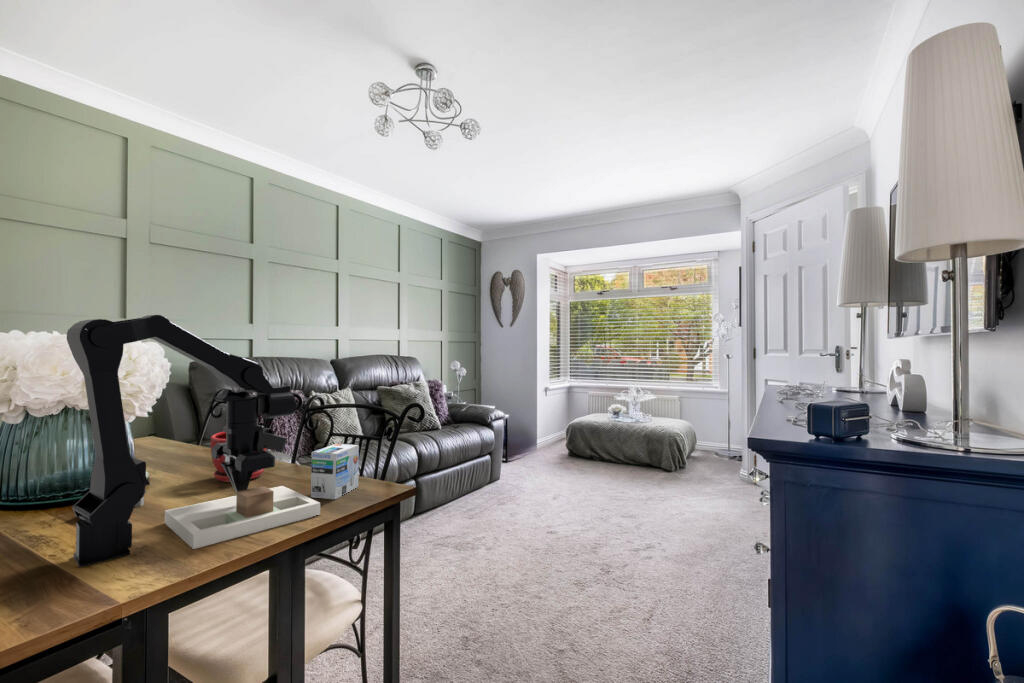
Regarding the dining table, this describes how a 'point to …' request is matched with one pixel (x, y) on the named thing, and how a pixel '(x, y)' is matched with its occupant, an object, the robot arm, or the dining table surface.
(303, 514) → the tray
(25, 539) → the dining table surface
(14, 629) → the dining table surface
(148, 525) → the dining table surface
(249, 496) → the walnut block
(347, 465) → the light bulb box
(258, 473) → the plant pot
